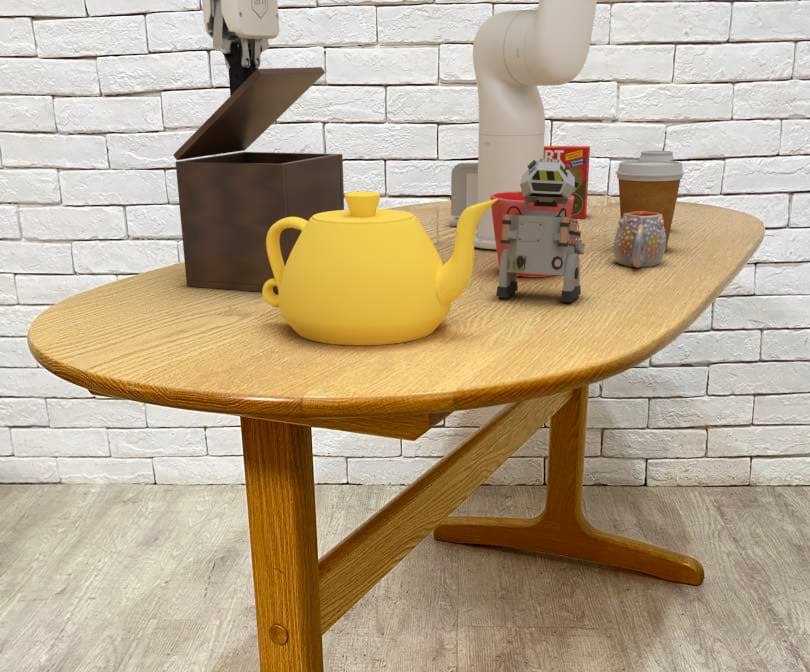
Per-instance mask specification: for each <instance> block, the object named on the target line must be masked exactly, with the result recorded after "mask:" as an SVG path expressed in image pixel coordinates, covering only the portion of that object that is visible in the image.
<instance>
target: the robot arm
mask: <svg viewBox="0 0 810 672" xmlns="http://www.w3.org/2000/svg"><path fill="white" fill-rule="evenodd" d="M201 1H202V13H203V22H204V28H205V32H206V34H207V35H208V36H209V37H210V38H212V47H213V49H214V50H216V51H218V52H219V53H222V55H223V57H224V64H225V67H226V69H228V70H227V71H228V82H229V95H230V96H231V95H232V94H233V93H234V92H235V91H236V90H237V89H238V88H239V87H240V86H241V85H242V84H243V83H244V82H245V81H246V80H247V79H248V78H249V77H250V76H251V75H252V74H253V73H254V72H255V71H256V70H257V69H260V67H261V55H262V53H263V52H265V51H267V50H268V49H269V47H270V43H269V42H270V41H269V40H273V39H275V38H277V37H278V36H279V35H280V34H279V33H280V17H279V16H280V15H279V4H278V0H201ZM597 3H598V0H538V6H537V9H517V10H515V9H514V10H507V11H501V12H498V13H495V14H493V15H491V16H489V17H488V18H487V19H486V20H485V21H483V22H482V23H481V25H480V26H479V28H478V29H477V32H476V34H475V35H474V39H473V43H472V61H473V68H474V74H475V81H476V87H477V99H478V144H477V145H478V146H477V147H478V148H477V149H478V150H477V151H478V152H477V156H478V158H477V163H478V204H479V203H483V202H486V201H490V200H491V195H492V194H495V193H501V192H517V191H522V190H521V187H520V182H521V179H522V175H523V174H524V173H525V172H526V171H527V170H528V169H529V168H528V167H527V166H528V165H529V164H530V163H531V162H532V161H533V160H535V161H536V162H537V161H538V160H539V159H544V146H545V135H546V134H545V133H546V114H545V108H544V104H543V100H542V97H541V94H540V91H539V89H538V87H539V86H543V87H549V86H550V87H553V86H554V87H555V86H562V85H566V84H568V83H570V82H572V81H573V80H574V79H576V78H577V77H578V76H579V74H580V73H581V72H582V70H583V68H584V66H585V64H586V62H587V58H588V55H589V53H590V52H589V51H590V47H591V42H592V36H593V30H594V23H595V16H596V9H597V5H598V4H597ZM230 96H229V97H230ZM474 248H476V249H483V250H495V251H497V249H496V242H495V234H494V226H493V217H492V208H491V206H490V207H489V208H488V209H487V210H486V211H485V212H484V213H483V215H482V216H481V218H480V220H479V222H478V225H477V228H476V233H475V242H474Z"/></svg>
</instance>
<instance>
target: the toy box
mask: <svg viewBox="0 0 810 672" xmlns="http://www.w3.org/2000/svg"><path fill="white" fill-rule="evenodd" d="M590 153H591V146H590V145H588V146H587V145H585V146H584V145H575V146H574V145H544V159H560V160H561V161H562V162H563V164H564V165H566V164H570V166H571V168H570V169H569V171H570V172H571V173H572V175H573V176H574V177H575V182H577V183H579V185H578V187H577V188H576V187H574V189H573V192H572V194H571V195H573V196H574V203H573V209H572V214H571V219H575V220H578V219H579V220H581V219H582V220H584V219H585V218H586V217H587V210H588V209H587V208H588V194H589V193H588V191H589V174H590V173H589V172H590V157H591V156H590Z"/></svg>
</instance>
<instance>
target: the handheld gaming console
mask: <svg viewBox="0 0 810 672" xmlns="http://www.w3.org/2000/svg"><path fill="white" fill-rule="evenodd" d="M450 181H451V182H450V205H451V206H450V216H451V217H453V218H452V219H450V227H457V224H458V220H459V218H460V216H461V214H462V213H463V211H464V210H465V209H466V208H468V207H470V206H473V205H476V204H478V162H460V163H457V164H455V166H454V167H453V168H452V169H451V174H450Z"/></svg>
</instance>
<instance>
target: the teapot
mask: <svg viewBox="0 0 810 672" xmlns="http://www.w3.org/2000/svg"><path fill="white" fill-rule="evenodd" d="M380 200H381V193H379V192H377V191H369V190H368V191H367V190H358V191H349V192H347V193H344V201H345V202H346V204H347V208H348V209H344V210H336V211H328V212H322V213H318V214H315V215H313V216H312V217H311V218H310V219H309V221H307V220H305V219H302V218H299V217H287V218H283V219H281V220H279V221H277V222H276V223H275V224H273V225H272V226H271V228H270V229H269V231H268V233H267V237H266V248H267V254H268V258H269V261H270V265H271V268H272V271H273V274H274V277H275V279H274V278H272V279H269V280H268V281H267V282H265V284H264V286H263V289H262V292H261V294H262V298H263V300H264V301H265V302H266V303H267V305H269V306H270V307H273V308H278V309H279V312H280V315H281V316H282V318H283V319H284V320H285V322H286V323H287V324H288V325H289V326H290V327H291V328H292V330H294V332H295V333H296V334H297V335H298V336H299V337H301V338H303V339H306V340H309V341H313V342H317V343H322V344H330V345H338V346H339V345H340V346H381V345H392V344H393V345H394V344H400V343H406V342H411V341H416V340H419V339H423V338H425V337H427V336H430V335H431V334H432V333H434V332H435V330H436V329H437V328H438V327H439V326H440V325H441V323H442V322H443V321H444V320H445V318H446V317H447V315H448V314H449V312H450V309H451V306H452V303H454V302H455V301H456V300H457V299H459V298H460V297H461V296H462V295H463V293H464V292H465V290H466V289H467V288H468V285H469V283H470V280H471V279H472V276H473V275H472V274H473V271H474V270H473V269H474V261H475V247H474V242H475V233H477V225H478V222H479V220H480V218H481V216H482V215H483V213H484V212H485V211H486V210H487V209H488V208H489V207H490V206H491V205H492V204H493V203H495V202H496V201H497V200H498V199H494V200H490V201H486V202H483V203H479V204H476V205H473V206H470V207H468V208H466V209H465V210H464V211H463V213H462V214H461V216H460V218H459V220H458V224H457V226H456V230H455V237H454V238H455V240H454V246H453V251H452V254H451V257H450V258H449V259H448V260H447V261H446V262H445V263H443V260H442V258H441V256H440V254H439V252H438V251H437V248H436V246H435V244H434V242H433V241H432V239H431V237H430V236H429V234H428V233H427V231H426V229H425V227H424V226H423V224H422V223H421V221H420V220H419V219H418V217H417V216H416V215H414V213H412V212H410V211H406V210H398V209H384V208H383V209H382V208H378V206H379V203H380ZM286 228H295V229H299V230H301V231H302V232H301V234H300V236H299V238H298V239H297V241H296V243H295V245H294V247H293V249H292V251H291V253H290V255H289V258H288V260H287V262H286V266H285V265H284V262H283V258H282V255H281V250H280V234H281V232H282V231H283V230H284V229H286ZM274 286H277V287H278V293H277V294H278V295H277V294H276V293H274V292H273V287H274Z"/></svg>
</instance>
